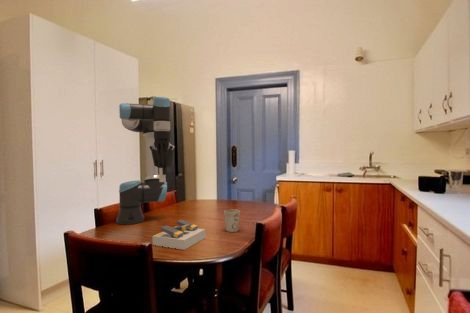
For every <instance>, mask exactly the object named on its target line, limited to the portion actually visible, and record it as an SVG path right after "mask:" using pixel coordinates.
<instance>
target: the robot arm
mask: <svg viewBox="0 0 470 313" xmlns="http://www.w3.org/2000/svg"><path fill="white" fill-rule="evenodd" d="M170 101H171V100H170V98H169V97H166V96H155V97H153V101H152V104H145V103H141V104H140V103H129V102H125V103H124V102H123V103H120V104H119V107H118V108H119V119H121V124H122V126H123V128H124V129H127V130H128V131H131V132H134V133H142V136H143V137H144V138H145V156H146V157H145V159H146V160H145V161H146V177H145V178H144V179H143V181H144V182H142V181H141V180H129V181H126V182H125V181H124V182H123V183H120V184H119V190H118V193H119V210H118V213H117V217H116V224H118V225H134V224H135V225H136V224H140V223H143V222H145V215H144V214H143V210H142V203H158V202H164V201H165V200H166V197H167V193H168V192H167V191H168V182H167V181H166V176H167V175H168V174H167V173H168V168H169V167H171V165H172V160H173V153H174V150H175V148H176V146H175V145H174V144H171V141H170V140H171V131H170V130H171V102H170Z"/></svg>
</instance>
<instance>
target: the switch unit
mask: <svg viewBox="0 0 470 313" xmlns="http://www.w3.org/2000/svg"><path fill="white" fill-rule="evenodd" d="M174 227H176V225H175V226H174ZM179 231H182V232H184V233H183V236H181V237H179V238H176V237H174V236H172V235H170V234H167V233H165V232H163V231H161V232H158V233H156V234H154V235H152V246H155V245H156V247H162V246H163V247H162V248H168V247H169V249H175V248H176V250H177V249H178V250H182V251H183V250H184V251H185V250H187V249H188V248H190V247H192V246H194V245H196V244H198V243H199V242H200V241H203V240H204V239H206V229H205V228H198V227H197V229H196V230H193V231H192V230H189V229H186V230H179Z"/></svg>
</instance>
